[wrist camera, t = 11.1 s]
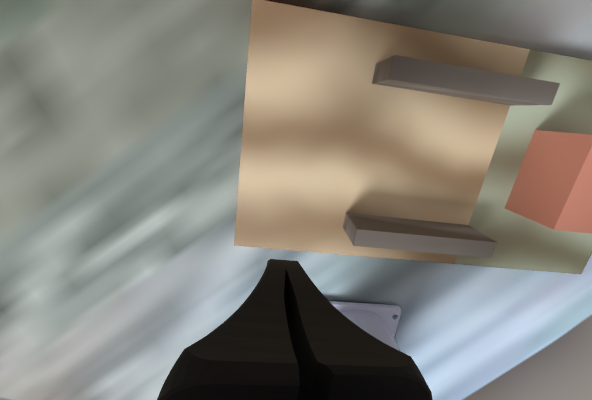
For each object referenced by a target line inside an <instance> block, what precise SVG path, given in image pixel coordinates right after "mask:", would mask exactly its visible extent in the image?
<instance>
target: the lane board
mask: <svg viewBox="0 0 592 400" xmlns="http://www.w3.org/2000/svg"><path fill="white" fill-rule="evenodd" d="M535 130H541V131H553V132H565V133H577V134H589V135H592V61H591V60H585V59H580V58H574V57H569V56H564V55H558V54H553V53H547V52H542V51H537V50H531V49H526V48H520V47H515V46H509V45H504V44H499V43H493V42H488V41H482V40H477V39H472V38H466V37H461V36H455V35H450V34H444V33H439V32H434V31H428V30H423V29H417V28H412V27H407V26H401V25H396V24H390V23H385V22H380V21H374V20H369V19H363V18H358V17H352V16H347V15H342V14H336V13H331V12H325V11H320V10H315V9H309V8H304V7H298V6H293V5H288V4H282V3H277V2H271V1H266V0H252V8H251V22H250V35H249V49H248V63H247V76H246V90H245V104H244V118H243V131H242V145H241V159H240V172H239V186H238V200H237V214H236V227H235V241H234V246H246V247H258V248H270V249H282V250H294V251H306V252H318V253H331V254H343V255H355V256H367V257H379V258H391V259H403V260H415V261H427V262H439V263H451V264H463V265H475V266H488V267H500V268H512V269H524V270H536V271H548V272H560V273H572V274H581V273H582V271H583V269H584V268H585V266H586V264H587V262H588V260H589V258H590V256H591V254H592V234H591V233H581V232H571V231H561V230H553V229H551V228H549V227H546V226H544V225H542V224H539V223H537V222H535V221H532V220H530V219H528V218H525V217H523V216H521V215H519V214H516V213H514V212H512V211H509V210H507V209H505V206H506V203H507V201H508V198H509V196H510V193H511V190H512V188H513V185H514V183H515V180H516V177H517V175H518V172H519V170H520V167H521V165H522V162H523V159H524V157H525V154H526V152H527V149H528V146H529V144H530V141H531V139H532V136H533V133H534V131H535Z"/></svg>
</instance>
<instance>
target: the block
mask: <svg viewBox="0 0 592 400" xmlns="http://www.w3.org/2000/svg"><path fill="white" fill-rule="evenodd" d="M505 209H507V210H509V211H512V212H514V213H516V214H519V215H521V216H523V217H525V218H528V219H530V220H532V221H535V222H537V223H539V224H542V225H544V226H546V227H549V228H551V229H553V230H561V231H571V232H581V233H591V234H592V135H589V134H577V133H565V132H553V131H541V130H535V131H534V133H533V136H532V139H531V141H530V144H529V146H528V149H527V152H526V154H525V157H524V159H523V162H522V165H521V167H520V170H519V172H518V175H517V177H516V180H515V183H514V185H513V188H512V190H511V193H510V196H509V198H508V201H507V203H506V206H505Z"/></svg>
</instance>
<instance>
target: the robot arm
mask: <svg viewBox="0 0 592 400" xmlns="http://www.w3.org/2000/svg"><path fill="white" fill-rule="evenodd" d="M401 313H402V310H401V308H400V307H399V306H397V305H385V304H369V303H353V302H337V301H328V300H327V299H326V298H325V297H324V295H323V294H322V293H321V292H320V291H319V290H318V288H317V287H316V286H315V285H314V283H313V282H312V281H311V279H310V278H309V277H308V275H307V274H306V273H305V271H304V270H303V268H302V267H301V265H300V264H299V262H298V261H288V260H275V259H270V260H269V261H268V263H267V267H266V269H265V272H264V274H263V276H262V277H261V279H260V281H259V283H258V284H257V286H256V287H255V289H254V290H253V291H252V293H251V294H250V296H249V297H248V298H247V299H246V301H245V302H244V303H243V304H242V305H241V306H240V307H239V309H238V310H237V311H236V312H235V313H234V314H232V315H231V316H230V317H229V318H228V319H227V320H226V321H225V322H224V323H223V324H221V325H220V326H219V327H217V328H216V329H215V330H214V331H212V332H211V333H210V334H208V335H207V336H206V337H204V338H202V339H201V340H199V341H197V342H196V343H194V344H192V345H191V346H189V347H187V348H186V349H184V351H183V352H182V353H181V355H180V357H179V358H178V360H177V361H176V363H175V364H174V366H173V368H172V369H171V371H170V373H169V375H168V377H167V379H166V380H165V382H164V384H163V387H162V389H161V391H160V394H159V396H158V399H157V400H432V394H431V391H430V389H429V387H428V385H427V384H426V382H425V380H424V378H423V376H422V374H421V372H420V370H419V369H418V367H417V366H416V364H415V362H414V361H413V359H412V358H411V357H410V356H408V355H406V354H404V353H402V352H401V351H400V350H399V348H398V346H397V344H396V342H395V340H394V336H395V332H396V329H397V326H398V323H399V319H400V316H401ZM393 315H395V316H393Z"/></svg>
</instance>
